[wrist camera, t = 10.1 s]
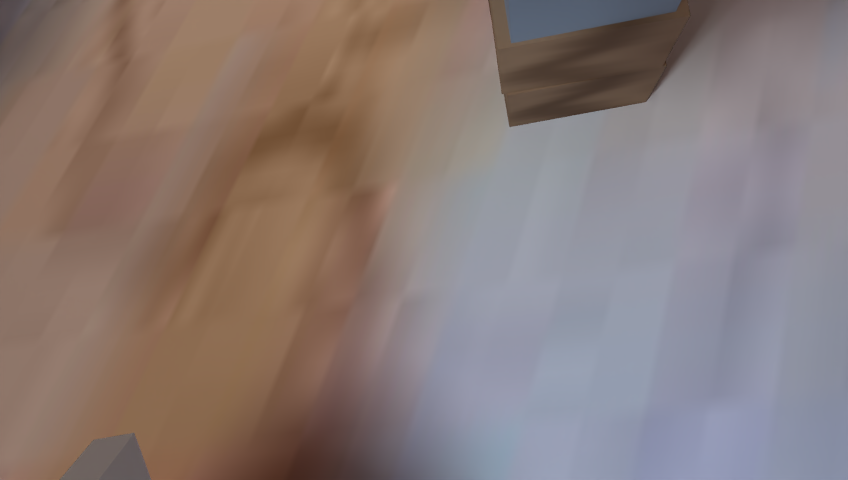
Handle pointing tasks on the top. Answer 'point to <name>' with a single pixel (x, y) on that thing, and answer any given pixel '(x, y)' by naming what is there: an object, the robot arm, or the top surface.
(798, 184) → the top surface
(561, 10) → the blue block
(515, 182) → the top surface
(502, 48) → the tower top
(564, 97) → the tower base
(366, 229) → the top surface
